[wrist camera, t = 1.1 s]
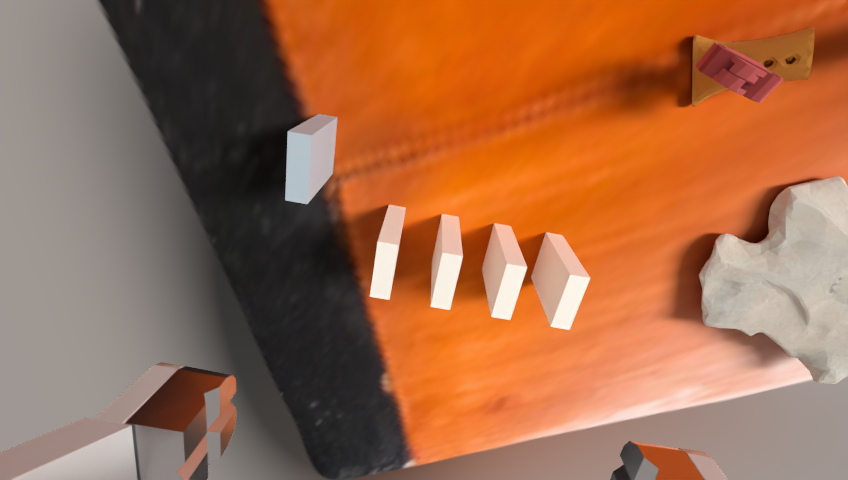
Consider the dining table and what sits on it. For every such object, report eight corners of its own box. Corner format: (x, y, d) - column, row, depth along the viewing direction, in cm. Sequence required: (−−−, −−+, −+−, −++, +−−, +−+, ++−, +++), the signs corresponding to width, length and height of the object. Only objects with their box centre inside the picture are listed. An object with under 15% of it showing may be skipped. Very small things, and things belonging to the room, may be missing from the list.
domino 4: (481, 268, 41) (491, 316, 34) (494, 223, 39) (507, 263, 32) (497, 271, 41) (510, 319, 34) (510, 226, 39) (527, 267, 32)
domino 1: (315, 170, 37) (285, 200, 30) (318, 113, 35) (287, 131, 28) (332, 173, 37) (307, 204, 30) (337, 117, 35) (311, 135, 28)
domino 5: (530, 277, 41) (550, 326, 34) (545, 232, 39) (570, 274, 32) (546, 280, 41) (569, 329, 34) (562, 235, 39) (590, 278, 32)
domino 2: (381, 251, 40) (369, 296, 33) (388, 204, 38) (377, 241, 31) (398, 254, 41) (389, 299, 33) (405, 207, 38) (398, 245, 31)
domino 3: (432, 260, 41) (430, 306, 33) (441, 213, 39) (442, 252, 31) (448, 263, 41) (450, 310, 34) (458, 216, 39) (463, 256, 31)
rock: (706, 380, 47) (867, 350, 42) (727, 412, 42) (908, 382, 38) (667, 212, 40) (854, 156, 36) (687, 230, 36) (902, 169, 31)
